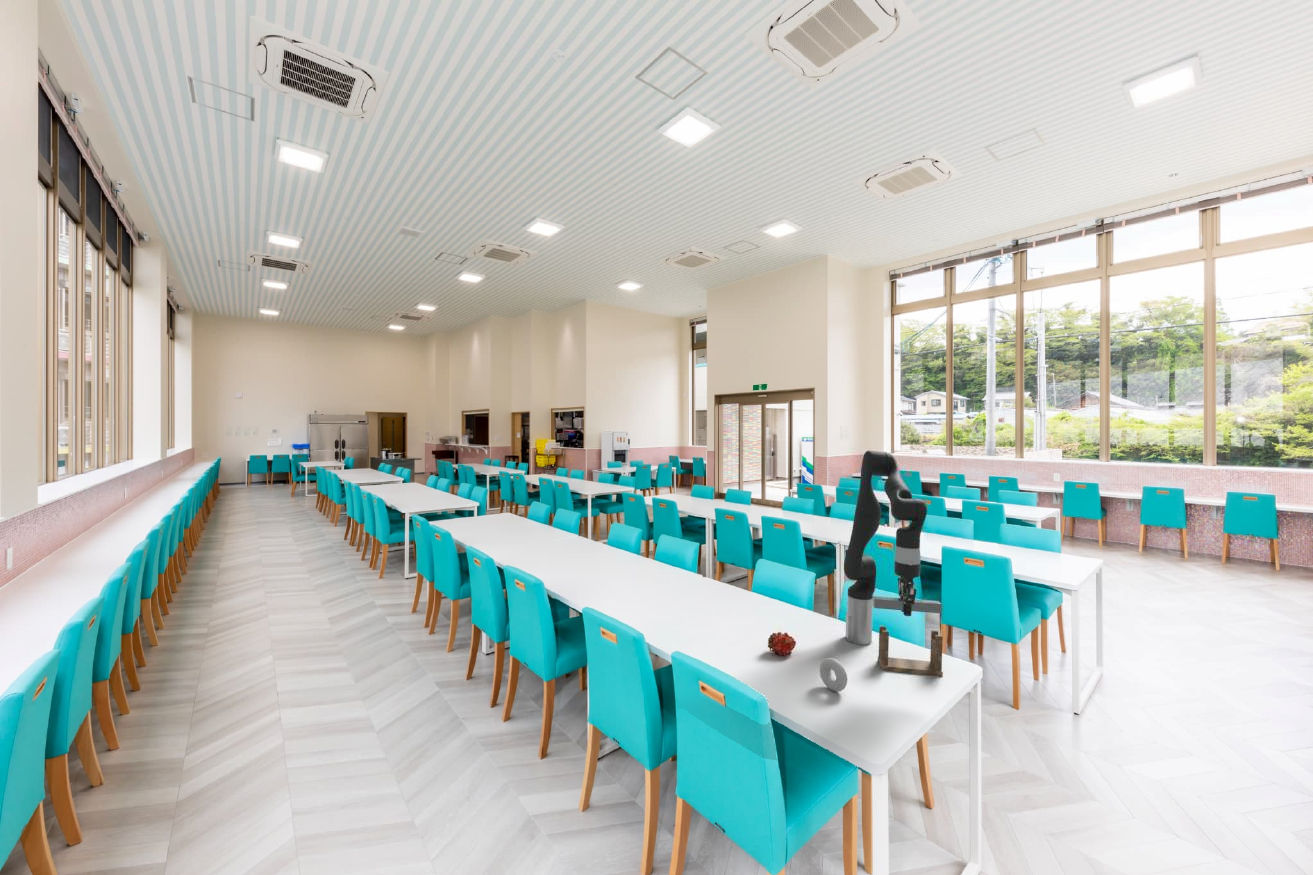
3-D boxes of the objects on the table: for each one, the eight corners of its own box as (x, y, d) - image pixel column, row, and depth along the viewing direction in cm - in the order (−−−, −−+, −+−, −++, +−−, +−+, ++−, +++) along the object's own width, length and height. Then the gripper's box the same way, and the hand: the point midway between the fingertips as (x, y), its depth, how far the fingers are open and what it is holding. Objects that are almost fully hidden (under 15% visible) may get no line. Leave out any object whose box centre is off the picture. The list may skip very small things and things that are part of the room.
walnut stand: (882, 670, 184) (883, 632, 184) (877, 660, 192) (878, 624, 191) (942, 676, 180) (943, 637, 180) (935, 666, 188) (936, 629, 188)
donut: (816, 684, 172) (817, 653, 172) (824, 682, 174) (825, 651, 174) (841, 698, 164) (842, 666, 164) (849, 695, 165) (850, 663, 165)
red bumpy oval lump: (764, 658, 195) (792, 659, 199) (776, 652, 188) (805, 653, 192) (760, 634, 200) (787, 636, 204) (772, 628, 193) (799, 629, 197)
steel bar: (874, 608, 173) (874, 598, 173) (872, 605, 176) (872, 596, 176) (941, 613, 169) (941, 604, 169) (938, 610, 172) (938, 601, 172)
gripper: (889, 554, 180) (888, 605, 180) (900, 565, 166) (898, 620, 167) (913, 556, 179) (912, 607, 179) (926, 566, 165) (924, 622, 165)
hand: (905, 613), depth 173 cm, fingers closed on steel bar, 3 cm apart
